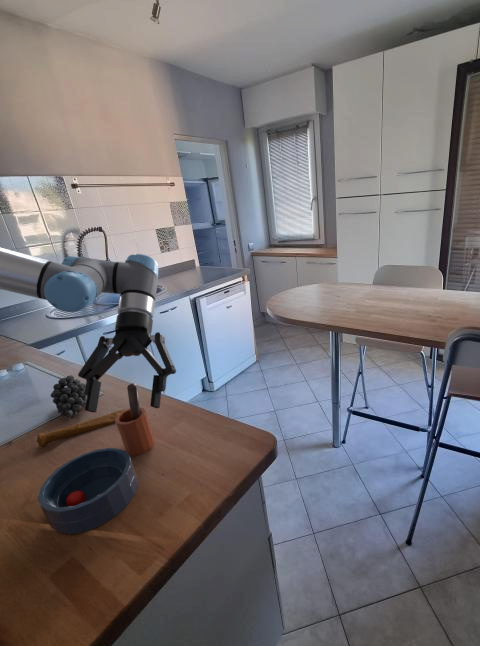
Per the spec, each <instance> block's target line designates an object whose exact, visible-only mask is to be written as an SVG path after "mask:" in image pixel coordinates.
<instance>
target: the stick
mask: <svg viewBox="0 0 480 646" xmlns="http://www.w3.org/2000/svg"><path fill="white" fill-rule="evenodd" d="M126 389H127V390H126V391H127V396H128V402H129V409H130V410H131V417H132V421H133V420H135V419H137V418H138V417H139V416H140V415H141V414H140V400H139V391H138V386H137V384H136V383H134V382H132V383H131V382H130V383H129V384H128V385H127V387H126Z"/></svg>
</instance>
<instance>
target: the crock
mask: <svg viewBox="0 0 480 646" xmlns="http://www.w3.org/2000/svg"><path fill="white" fill-rule="evenodd" d="M124 410H125V411H123V412H121V413H120V414H119V415H117V416H116V418H115V423H114V424H115V426H116V429H117V431H118V434H119V437H120V439H121V442H122V446H123V449H124V451H126V452H127V454H128V455H129V456H139V455H143V454H145V453H146V452H148V451H150V450H151V449H152V448H153V446H154V445H155V438H154V437H155V436H154V435H153V431H152V428H151V425H150V424H151V423H150V420H149V418H148V415H147V411H146V409H145V408H143V407H140V414H141V415H140V416H139V417H138V418H137V419H135V420H133V421H132V417H131V410H130V408H127V409H124Z"/></svg>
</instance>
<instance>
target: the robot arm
mask: <svg viewBox="0 0 480 646" xmlns="http://www.w3.org/2000/svg"><path fill="white" fill-rule="evenodd" d="M159 270H160V269H159V264H158V261H156V260H155V259H154V258H153V257H151V256H150V255H147V254H143V253H136V254H129V255H128V256H127V257H126V259H125V261H113V260H104V259H98V258H91V257H87V256H74V255H73V256H71V255H67V256H65V257H64V258H63V261H62V262H61V263H59V262H54V261H51V260H49V259H45V258H41V257H37V256H34V255H30V254H27V253H24V252H23V253H22V252H19V251H15V250H12V249H8V248H4V247H1V246H0V290H3V291H7V292H11V293H14V294H18V295H24V296H26V297H27V296H28V297H32V298H37V299H40V300H44V301H47V302H48V303H49V305H51V306H52V307H53V308H55V309H56V310H58V311H61V312H65V313H76V312H79V311H83V310H84V309H85V308H87V307H89V306H91V305H92V304H93V303H95V300H96V299H97V297H98V296H101V294H102V293H106V294H113V295H114V294H115V295H120V296H119V301H118V307H117V315H116V320H115V324H114V325H115V327H114V333H115V335H114V336H113V337H106V336H104V335H102V336H100V337H99V339H98V342H97V345H96V347H95V348H94V349H93V351H92V353H91V354H90V356H89V357H88V359H87V360H86V361H85V363H84V365H82V367H81V369H80V370H79V372H78V374H77V377H78V378H81V379H83V380H85V381H86V383H85V385H86V387H85V392H84V393H85V395H86V400H85V406H84V411H85V412H90V413H97V410H98V404H99V399H100V392H101V387H102V381H100V379H101V378H102V377H103V376H104V375H105V374H106V373H107V372H108V371H109V370H110V369H111V368H112V367H113V365H115V363H117V362H118V361H119V360H121V359H122V358H123V357H125V358H127V357H132V356H134V357H139V356H140V355H142V356H143V357H144V358H145V359H146V361H147V362H148V363H149V364H150V366H151V368H152V369H154V371H155V372H156V374H153V378H152V387H151V396H150V403H149V404H150V405H149V406H150V407H152V408H154V409H160V408H161V398H162V392H165V391H166V388H167V387H166V386H167V379H168V377H169V376H170V375H174V374H176V373H177V369H176V367H175V364H174V362H173V360H172V358H171V355H170V353H169V351H168V349H167V347H166V338H165V336H164V335H163V334H162V333H160V332H159V331H158V332H157V331H156V332H155V334H152V331H153V323H154V319H153V318H154V315H155V307H156V306H155V305H156V297H157V290H158V283H159ZM151 343H153V344H154V345H155V347H156V349H157V351H158V353H159V356H160V358H161V361H162V363H163V365H164V367H163V366H162V365H161V363H160V362H159V361H158V360H157V359H156V357H155V356H154V355H153V353H152V352H151V351H150V350H149V348H148V347H149V346H150V345H151Z"/></svg>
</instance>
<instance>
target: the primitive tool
mask: <svg viewBox="0 0 480 646" xmlns="http://www.w3.org/2000/svg"><path fill="white" fill-rule="evenodd" d="M125 410H126V409H120V410H116V411H114V412H110V413H107V414H105V415H102V416H99V417H95V418H92V419H88V420H86V421H83V422H79V423H76V424H73V425H70V426H66V427H63V428H60V429H57V430H53V431H48V432H45V433H43V432H39V433H38V434H37V438H36V442H37V444H38V447H39V448H42V449H44V448H45V447H47V446H48V445H49V444H52V443H54V442H58V441H61V440H64V439H68V438H70V437H73V436H76V435H80V434H84V433H86V432H90V431H93V430H97V429H101V428H103V427H106V426H110V425H113V424H114V425H115V424H116V423H115V418H116V416H117V415H119V414H120V413H121V412H123V411H125Z"/></svg>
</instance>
